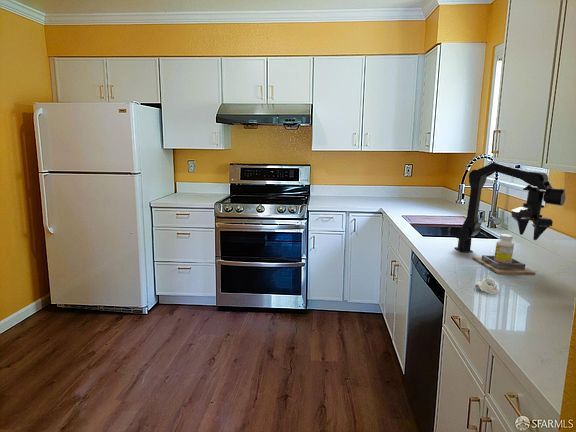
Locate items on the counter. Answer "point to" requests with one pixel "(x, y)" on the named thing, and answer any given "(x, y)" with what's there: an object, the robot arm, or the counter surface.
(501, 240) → the supplement bottle
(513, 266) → the holder board
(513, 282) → the counter surface
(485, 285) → the whipped cream
